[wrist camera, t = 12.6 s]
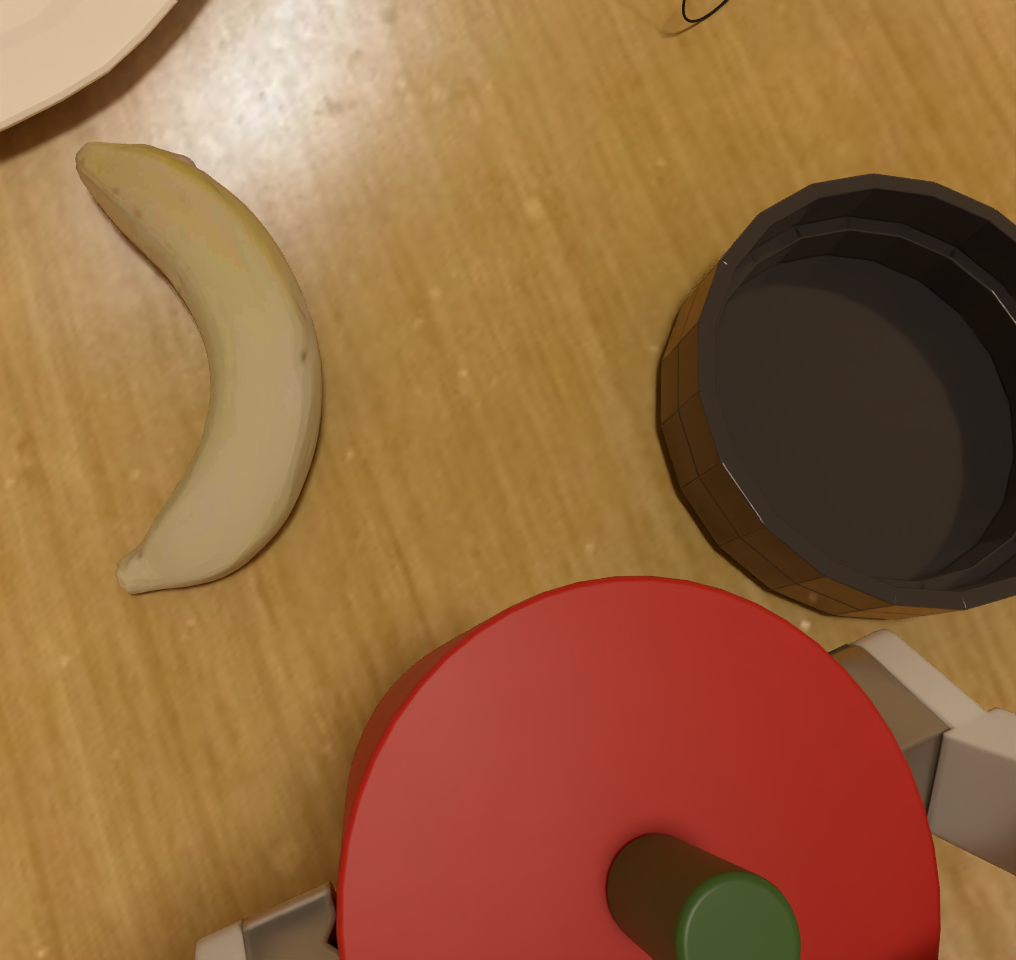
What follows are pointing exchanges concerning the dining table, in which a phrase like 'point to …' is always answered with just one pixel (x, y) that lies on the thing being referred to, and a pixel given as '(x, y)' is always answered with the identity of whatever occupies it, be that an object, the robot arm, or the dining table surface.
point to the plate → (65, 47)
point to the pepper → (633, 793)
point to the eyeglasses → (702, 17)
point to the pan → (856, 399)
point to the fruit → (219, 362)
